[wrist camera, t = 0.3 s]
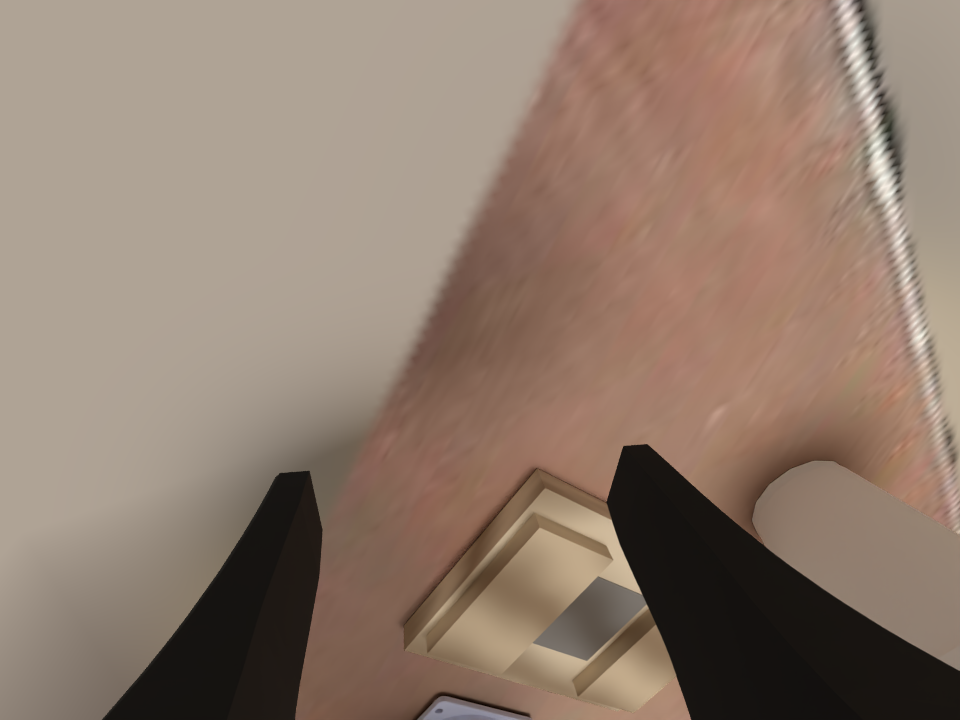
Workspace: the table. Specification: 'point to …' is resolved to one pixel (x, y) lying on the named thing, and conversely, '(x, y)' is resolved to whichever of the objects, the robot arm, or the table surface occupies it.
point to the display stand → (548, 604)
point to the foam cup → (867, 552)
